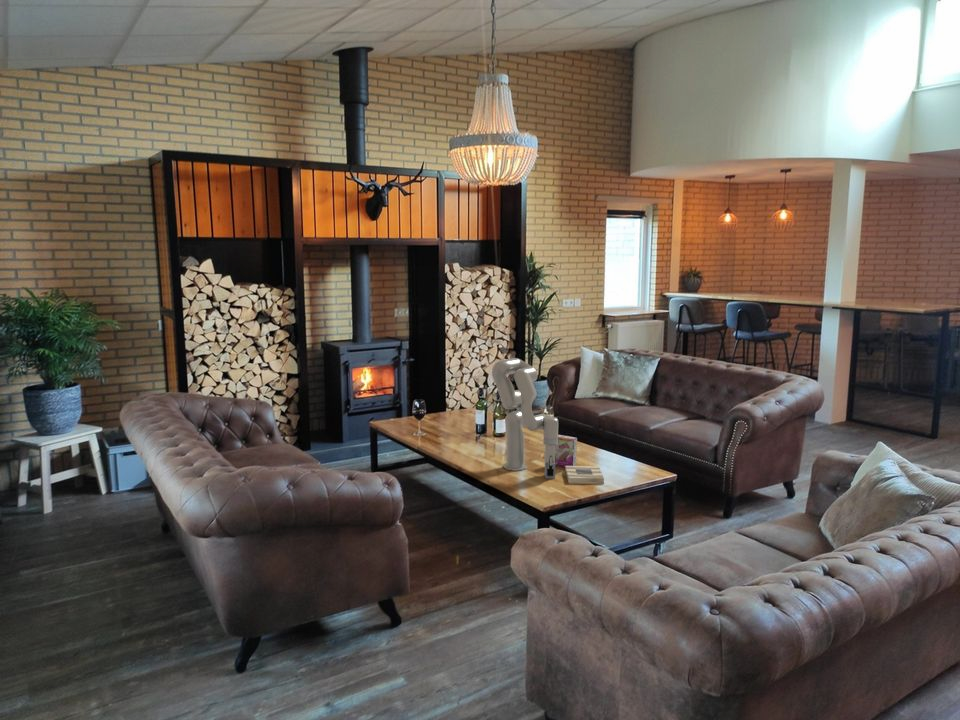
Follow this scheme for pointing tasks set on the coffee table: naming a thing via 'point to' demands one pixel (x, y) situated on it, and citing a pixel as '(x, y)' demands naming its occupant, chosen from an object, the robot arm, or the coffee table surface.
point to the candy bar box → (566, 451)
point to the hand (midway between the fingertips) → (549, 473)
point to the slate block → (546, 471)
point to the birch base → (584, 474)
